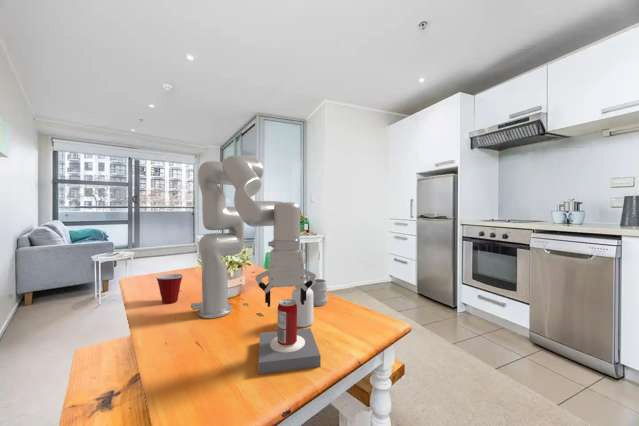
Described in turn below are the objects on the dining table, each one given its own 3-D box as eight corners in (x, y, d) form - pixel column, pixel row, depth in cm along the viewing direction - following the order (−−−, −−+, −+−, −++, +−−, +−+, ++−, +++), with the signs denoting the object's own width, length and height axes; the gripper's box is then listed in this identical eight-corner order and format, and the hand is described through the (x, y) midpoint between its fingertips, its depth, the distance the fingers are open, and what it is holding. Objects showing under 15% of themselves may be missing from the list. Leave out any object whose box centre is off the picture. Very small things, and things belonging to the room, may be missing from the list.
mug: (331, 303, 116) (331, 276, 115) (310, 310, 108) (310, 281, 107) (319, 298, 121) (319, 272, 121) (299, 305, 113) (299, 277, 113)
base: (258, 374, 67) (258, 361, 67) (259, 342, 83) (259, 332, 82) (320, 366, 70) (320, 354, 70) (310, 337, 86) (310, 327, 86)
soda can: (299, 338, 78) (299, 298, 78) (293, 348, 73) (293, 305, 73) (281, 336, 80) (281, 297, 79) (274, 346, 74) (274, 303, 74)
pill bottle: (316, 319, 99) (316, 280, 98) (308, 329, 91) (308, 286, 91) (297, 317, 101) (296, 278, 101) (287, 326, 94) (287, 284, 93)
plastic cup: (189, 298, 123) (188, 272, 123) (172, 306, 112) (172, 278, 112) (168, 296, 125) (168, 271, 125) (150, 305, 114) (149, 277, 114)
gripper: (255, 248, 70) (254, 311, 71) (318, 247, 74) (317, 307, 75) (256, 243, 78) (255, 300, 78) (313, 242, 81) (312, 297, 82)
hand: (285, 304), depth 76 cm, fingers open, 9 cm apart
